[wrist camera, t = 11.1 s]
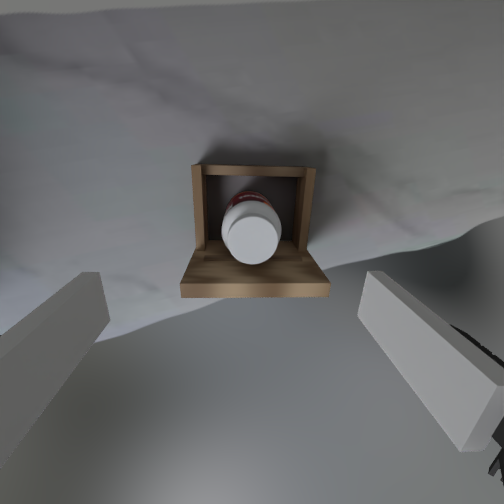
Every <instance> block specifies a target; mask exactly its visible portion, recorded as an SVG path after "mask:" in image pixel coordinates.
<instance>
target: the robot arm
mask: <svg viewBox="0 0 504 504" xmlns="http://www.w3.org/2000/svg"><path fill="white" fill-rule="evenodd" d="M357 316H358V318H359V319H360V320H361V322H362V323H363V324H364V326H365V327H366V328H367V329H368V331H369V332H370V333H371V335H372V336H373V337H374V339H375V340H376V341H377V343H378V344H379V345H380V347H381V348H382V349H383V351H384V352H385V353H386V354H387V356H388V357H389V358H390V360H391V361H392V362H393V364H394V365H395V367H396V368H397V369H398V370H399V372H400V373H401V374H402V376H403V377H404V378H405V380H406V381H407V382H408V384H409V385H410V386H411V388H412V389H413V390H414V392H415V393H416V394H417V396H418V397H419V398H420V399H421V401H422V402H423V403H424V405H425V406H426V407H427V409H428V410H429V411H430V413H431V414H432V415H433V417H434V418H435V419H436V421H437V422H438V423H439V425H440V426H441V427H442V428H443V430H444V431H445V433H446V434H447V435H448V436H449V438H450V439H451V440H452V442H453V443H454V445H455V446H456V447H457V448H458V450H459V451H460V452H467V451H484V449H485V448H486V446H487V444H488V443H489V441H490V440H491V438H492V437H493V438H494V440H495V441H496V442H497V443H498V444H499V445H500V446H501V447H502V449H501V451H500V452H499V454H498V455H497V457H496V458H495V460H494V461H493V463H492V464H491V466H490V467H489V472H488V474H490V475H492V476H494V475H495V473H496V471H497V470H498V469H501V474H502V478H501V481H502V482H503V485H504V362H503V361H502V360H501V359H499V358H498V357H497V356H496V355H492V352H490V351H489V350H488V349H487V348H485V347H484V346H481V345H480V343H479V342H477V341H476V340H475V339H474V338H472V337H471V336H470V335H468V334H467V333H465V332H464V331H462V330H460V329H458V328H456V327H454V326H452V325H449V324H448V323H446V322H445V321H444V320H443V319H441V318H440V317H439V316H438V315H436V314H435V313H434V312H433V311H431V310H430V309H429V308H428V307H426V306H425V305H424V304H422V303H421V302H420V301H419V300H418V299H416V298H415V297H414V296H412V295H411V294H410V293H409V292H407V291H406V290H405V289H404V288H402V287H401V286H400V285H399V284H397V283H396V282H395V281H394V280H392V279H391V278H390V277H389V276H387V275H386V274H385V273H384V272H382V271H368V272H367V276H366V280H365V284H364V289H363V293H362V297H361V302H360V306H359V310H358V315H357ZM109 321H110V316H109V312H108V308H107V303H106V299H105V295H104V290H103V286H102V281H101V277H100V273H99V272H82V273H81V274H79V275H78V276H77V277H76V278H74V279H73V280H72V281H70V282H69V283H68V284H67V285H65V286H64V287H63V288H62V289H60V290H59V291H58V292H56V293H55V294H54V295H53V296H51V297H50V298H49V299H47V300H46V301H45V302H44V303H42V304H41V305H40V306H39V307H37V308H36V309H35V310H33V311H32V312H31V313H30V314H28V315H27V316H26V317H25V318H23V319H22V320H21V321H19V322H18V323H17V324H16V325H14V326H13V327H12V328H10V329H9V330H8V331H7V332H5V333H4V334H3V335H0V468H1V467H2V466H3V464H4V463H5V462H6V460H7V459H8V458H9V456H10V455H11V454H12V452H13V451H14V450H15V448H16V447H17V446H18V444H19V443H20V442H21V440H22V439H23V437H24V436H25V435H26V433H27V432H28V431H29V429H30V428H31V427H32V425H33V424H34V423H35V421H36V420H37V419H38V417H39V416H40V414H41V413H42V412H43V410H44V409H45V408H46V406H47V405H48V404H49V402H50V401H51V400H52V398H53V397H54V396H55V394H56V393H57V392H58V390H59V389H60V388H61V386H62V385H63V384H64V382H65V381H66V379H67V378H68V377H69V375H70V374H71V373H72V371H73V370H74V369H75V367H76V366H77V364H78V363H79V362H80V361H81V359H82V358H83V357H84V355H85V354H86V352H87V351H88V350H89V348H90V347H91V346H92V344H93V343H94V342H95V340H96V339H97V338H98V336H99V335H100V334H101V332H102V331H103V330H104V328H105V327H106V325H107V324H108V323H109Z"/></svg>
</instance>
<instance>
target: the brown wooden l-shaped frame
mask: <svg viewBox="0 0 504 504" xmlns="http://www.w3.org/2000/svg"><path fill="white" fill-rule="evenodd" d="M191 169H192V185H193V201H194V218H195V234H196V249H195V251H194V253H193V255H192V258H191V260H190V262H189V264H188V267H187V269H186V271H185V273H184V276H183V278H182V280H181V282H180V290H181V298H229V297H230V298H231V297H232V298H234V297H236V298H238V297H329V292H330V286H331V283H330V281H329V280H328V278H327V277H326V276H325V274H324V273H323V272H322V270H321V269H320V267H319V266H318V265H317V263H316V262H315V260H314V259H313V258H312V256H311V255H310V253H309V252H308V251H307V241H308V233H309V224H310V216H311V208H312V199H313V191H314V183H315V174H316V168H311V167H299V166H261V165H224V164H194V165H191ZM206 175H240V176H282V177H298V180H297V190H296V201H295V212H294V222H293V233H292V241H279V243H278V245H277V248H276V250H275V252H274V254H273V255H272V256H271V257H270V258H269V259H267V260H266V261H264V262H262V263H259V264H246V263H243V262H240V261H239V260H237V259H236V258H235V257H234V256H233V255H232V254H231V252H230V250H229V249H228V248H227V246H226V245H225V243H224V241H223V240H209V238H208V214H207V190H206Z"/></svg>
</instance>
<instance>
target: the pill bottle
mask: <svg viewBox="0 0 504 504" xmlns="http://www.w3.org/2000/svg"><path fill="white" fill-rule="evenodd" d="M280 237H281V223H280V220H279V217H278V215H277V214H276V212H275V210H274V209H273V207H272V206H271V204H270V202H269V201H268V200H267V199H266V198H265V197H264V196H263V195H261V194H260V193H257V192H253V191H245V192H242V193H239V194H237V195H236V196H234V197H233V198H232V199H231V201H230V202H229V204H228V206H227V208H226V212H225V215H224V219H223V223H222V238H223V241H224V243H225V245H226V246H227V248H228V249H229V250H230V252H231V254H232V255H233V256H234V257H235V258H236V259H237V260H239V261H240V262H243V263H246V264H259V263H262V262H264V261H266V260H267V259H269V258H270V257H271V256H272V255H273V254H274V252H275V250H276V248H277V245H278V243H279V240H280Z"/></svg>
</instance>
